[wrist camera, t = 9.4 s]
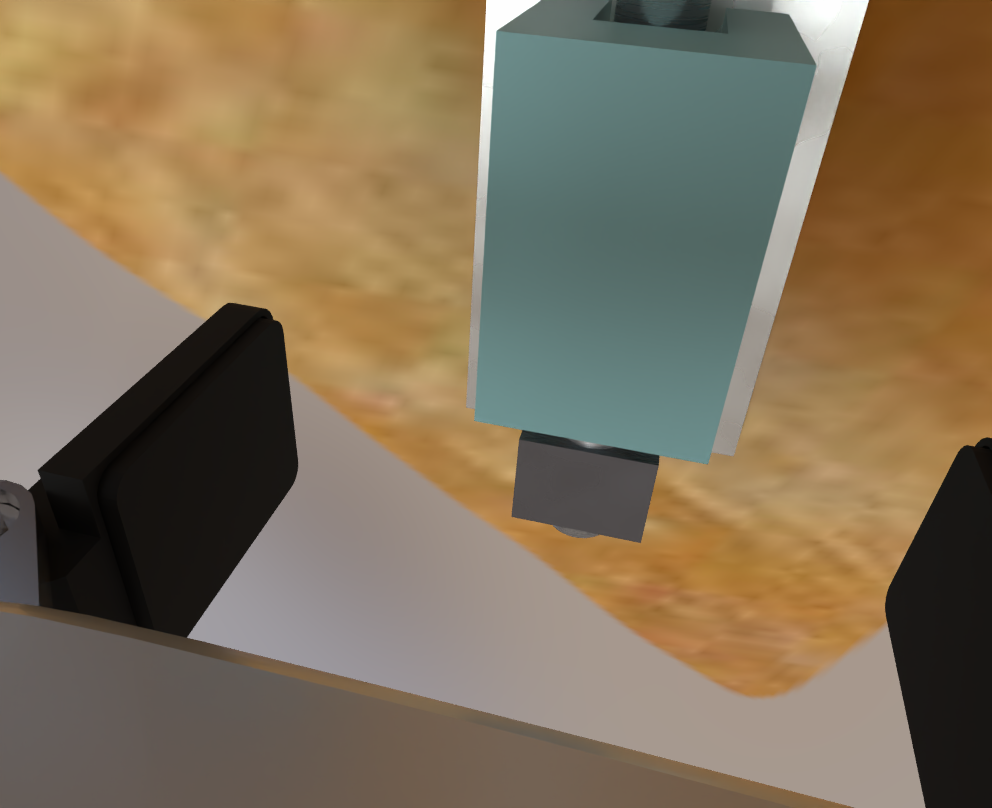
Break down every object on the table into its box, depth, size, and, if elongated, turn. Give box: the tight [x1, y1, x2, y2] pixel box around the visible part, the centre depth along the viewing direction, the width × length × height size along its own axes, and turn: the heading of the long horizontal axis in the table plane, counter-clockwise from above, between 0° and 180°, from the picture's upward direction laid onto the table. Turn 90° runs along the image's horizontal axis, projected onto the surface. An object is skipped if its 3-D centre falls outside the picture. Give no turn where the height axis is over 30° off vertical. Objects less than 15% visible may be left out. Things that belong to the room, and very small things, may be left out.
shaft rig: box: [466, 0, 869, 543], centre depth 22 cm, size 10×20×7 cm, turn 176°
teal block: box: [474, 0, 817, 464], centre depth 19 cm, size 6×9×6 cm, turn 176°
